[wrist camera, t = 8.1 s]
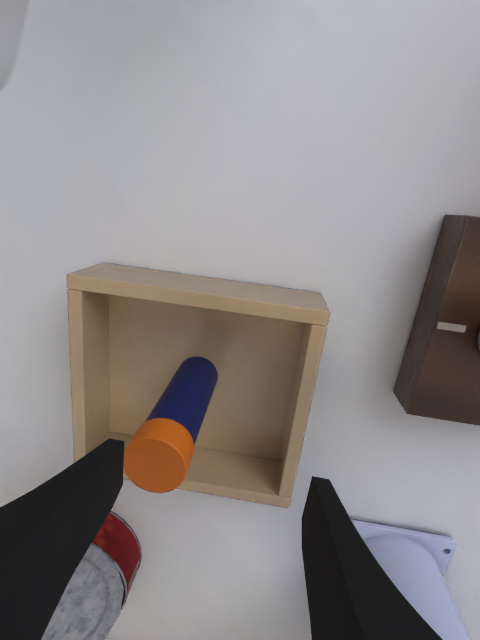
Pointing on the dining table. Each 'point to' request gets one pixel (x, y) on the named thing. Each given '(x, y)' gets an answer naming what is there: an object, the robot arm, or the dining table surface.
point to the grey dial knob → (479, 340)
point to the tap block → (446, 331)
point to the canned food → (98, 585)
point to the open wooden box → (198, 341)
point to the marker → (171, 429)
